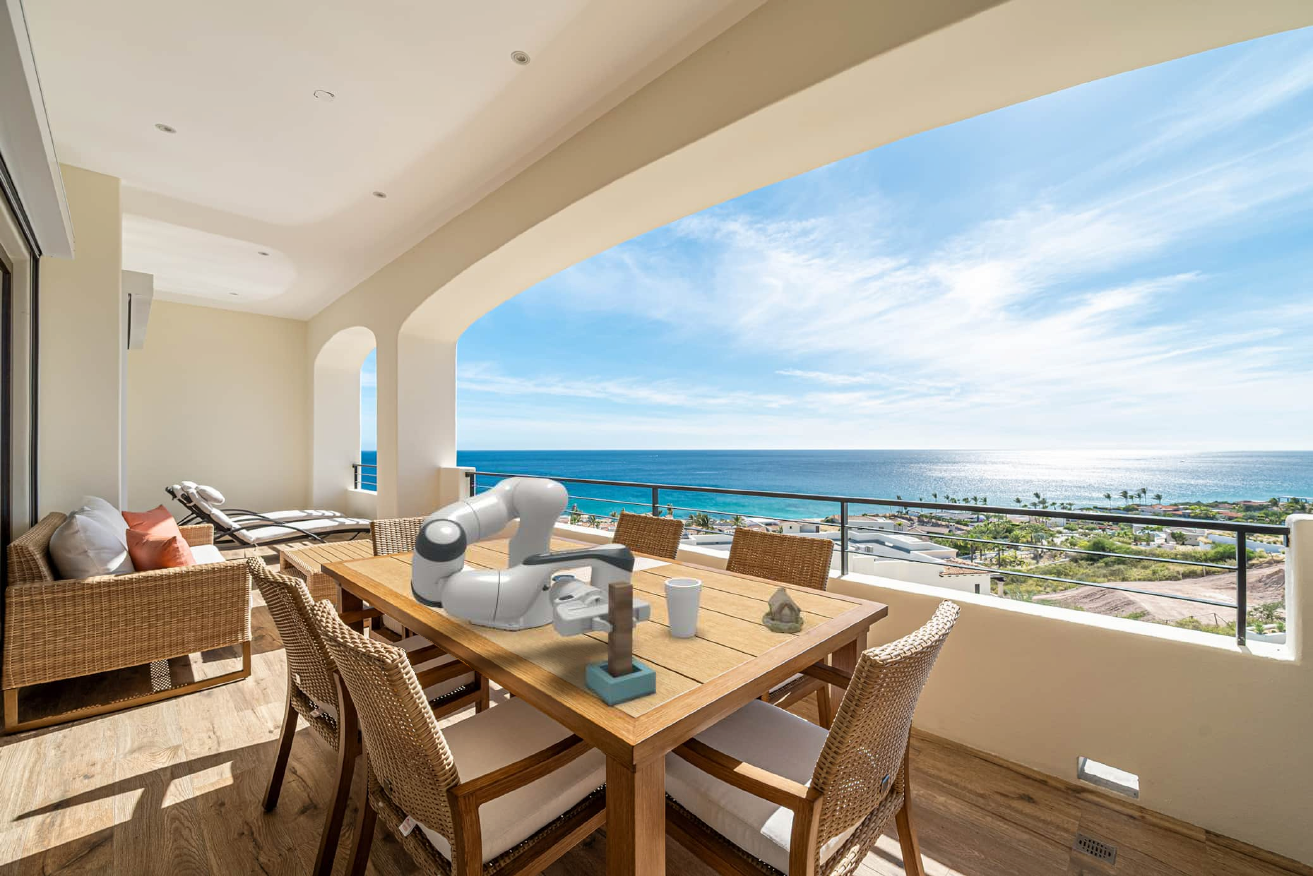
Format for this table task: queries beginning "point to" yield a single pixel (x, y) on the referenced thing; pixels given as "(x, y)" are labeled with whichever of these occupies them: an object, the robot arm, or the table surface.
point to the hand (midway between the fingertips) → (622, 626)
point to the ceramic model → (782, 613)
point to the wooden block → (620, 628)
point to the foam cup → (683, 605)
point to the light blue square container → (620, 682)
